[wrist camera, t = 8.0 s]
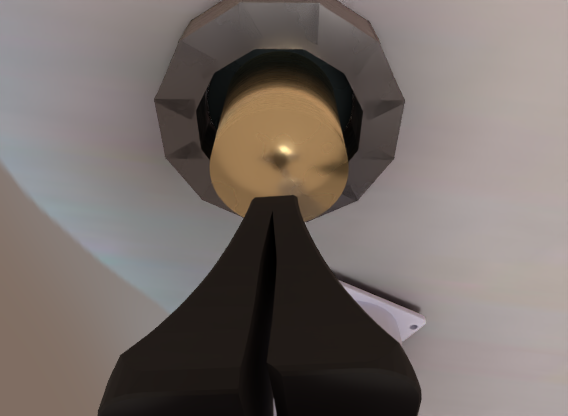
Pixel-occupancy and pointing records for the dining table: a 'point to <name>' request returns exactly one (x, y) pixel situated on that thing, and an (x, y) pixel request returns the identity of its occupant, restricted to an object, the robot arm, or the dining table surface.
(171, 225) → the dining table surface
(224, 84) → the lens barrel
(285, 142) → the gold metal cylinder
